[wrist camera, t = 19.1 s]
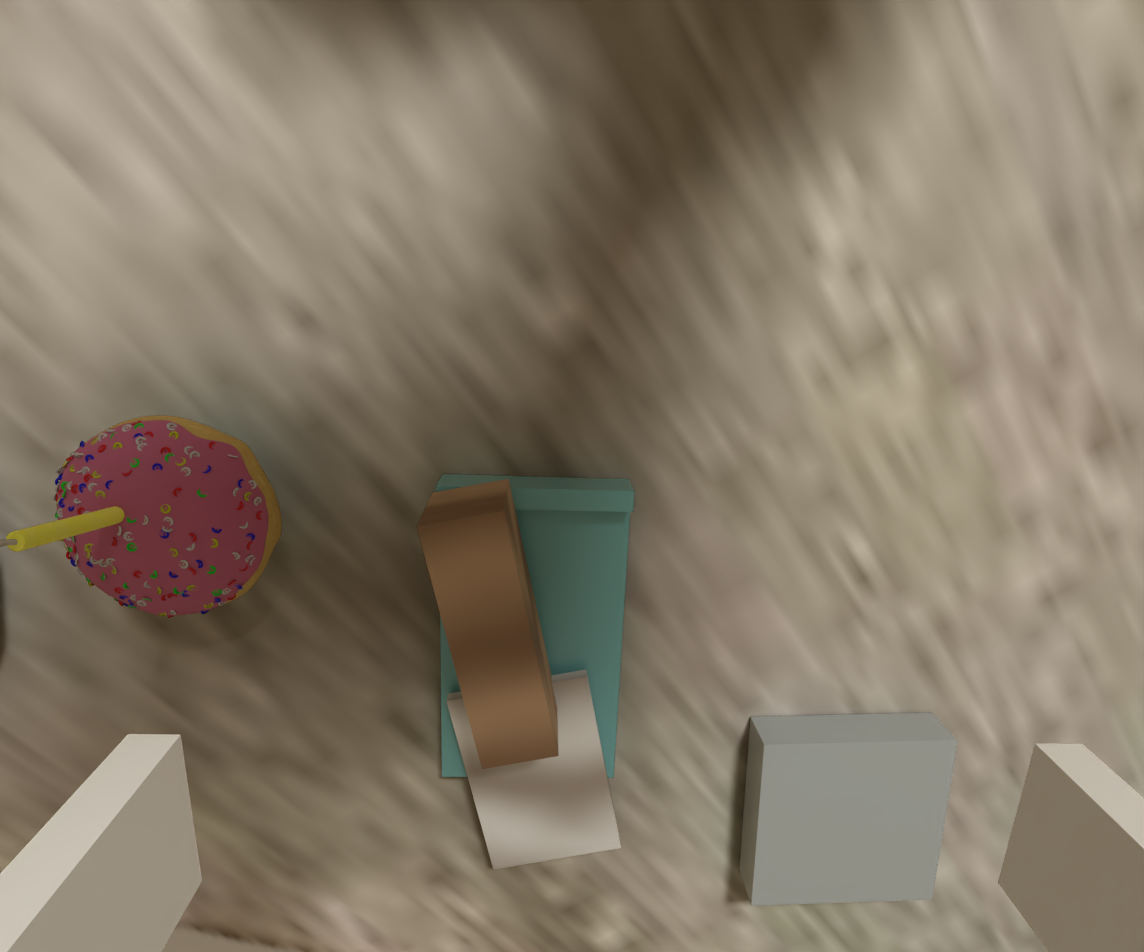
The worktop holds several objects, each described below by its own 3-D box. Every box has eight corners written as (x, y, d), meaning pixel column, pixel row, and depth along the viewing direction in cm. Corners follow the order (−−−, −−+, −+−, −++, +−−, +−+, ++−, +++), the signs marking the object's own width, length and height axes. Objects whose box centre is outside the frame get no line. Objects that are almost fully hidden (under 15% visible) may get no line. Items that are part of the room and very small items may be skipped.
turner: (394, 499, 31) (373, 534, 27) (547, 471, 31) (547, 503, 27) (494, 860, 38) (488, 928, 34) (619, 838, 38) (628, 905, 34)
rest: (442, 474, 33) (435, 486, 31) (628, 479, 33) (634, 491, 31) (445, 761, 37) (439, 790, 35) (611, 762, 37) (615, 790, 35)
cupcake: (89, 483, 32) (-163, 586, 21) (209, 360, 31) (12, 396, 20) (231, 604, 34) (71, 761, 23) (349, 493, 33) (245, 597, 21)
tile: (764, 744, 35) (751, 905, 37) (957, 740, 35) (932, 899, 38) (749, 713, 37) (737, 865, 40) (929, 709, 38) (906, 860, 40)
